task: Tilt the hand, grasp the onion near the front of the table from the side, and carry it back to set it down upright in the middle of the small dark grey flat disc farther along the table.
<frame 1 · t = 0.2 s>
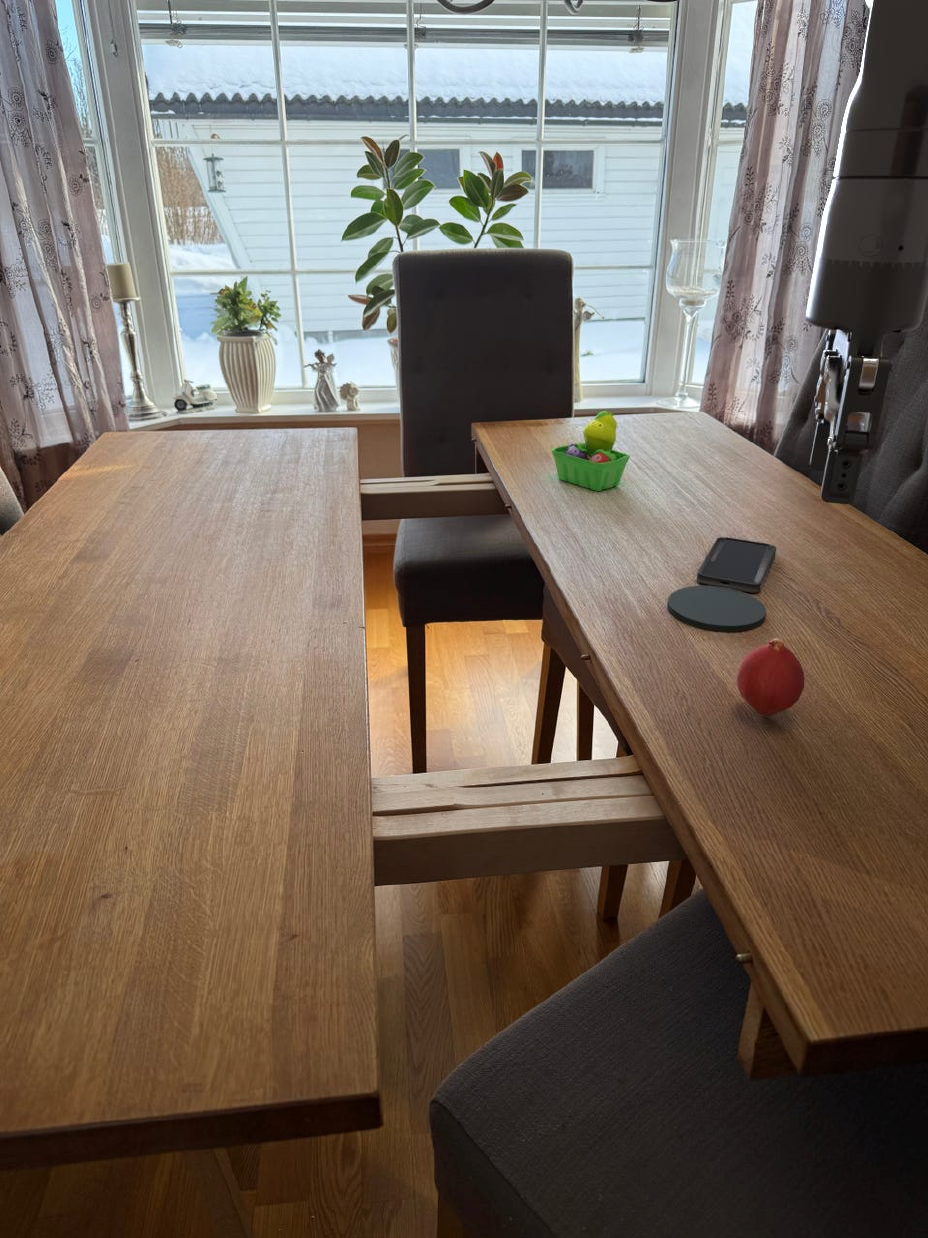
hand: (829, 484, 67), 24 cm above the table, tool pointing down, fingers open, 8 cm apart
dark grey flat disc: (715, 610, 102), on the table
phone: (736, 568, 114), on the table
fruit basket: (590, 482, 147), on the table
onion: (763, 716, 82), on the table
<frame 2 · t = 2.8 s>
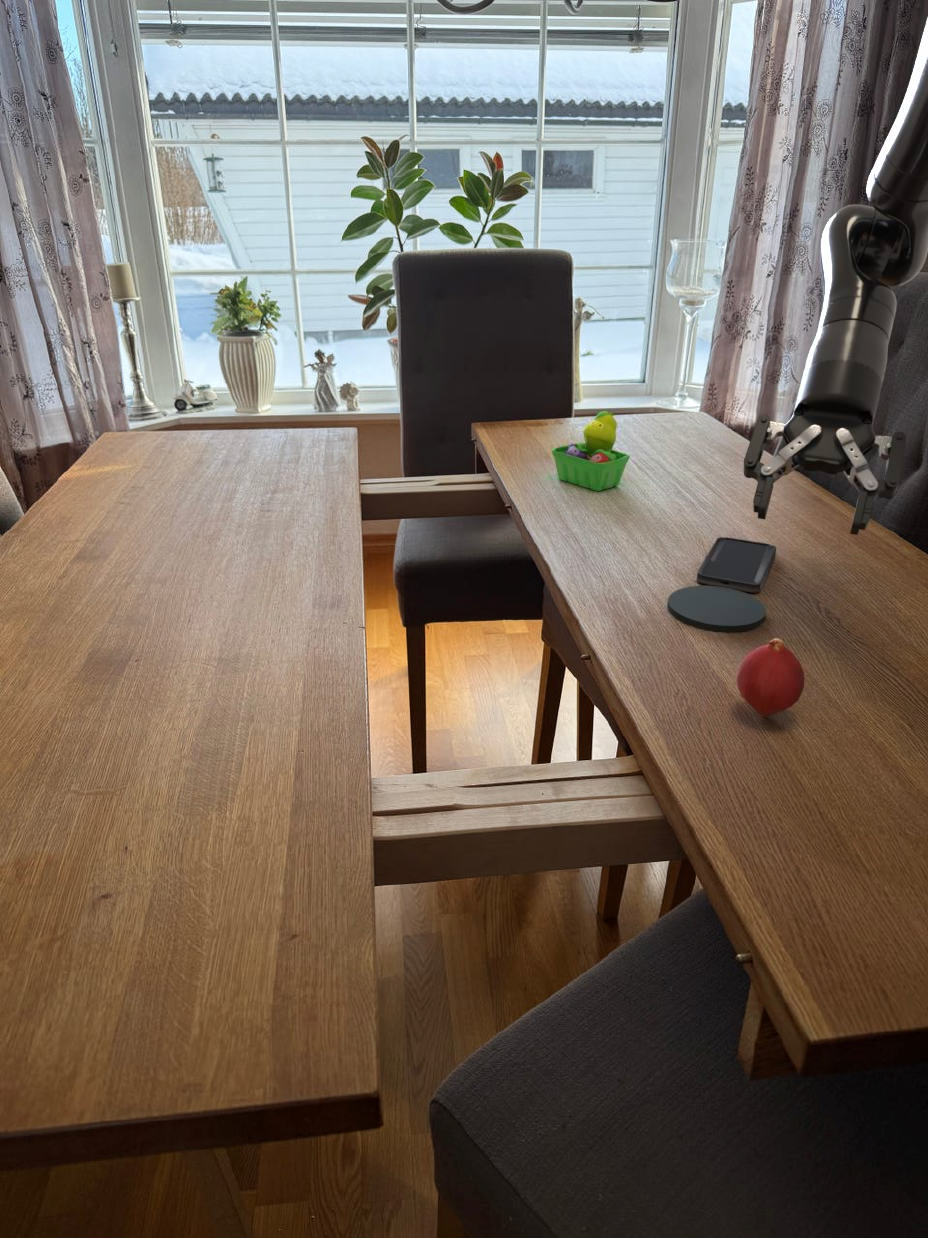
hand: (807, 523, 85), 15 cm above the table, tool tilted 45°, fingers open, 8 cm apart
nothing on the table moved.
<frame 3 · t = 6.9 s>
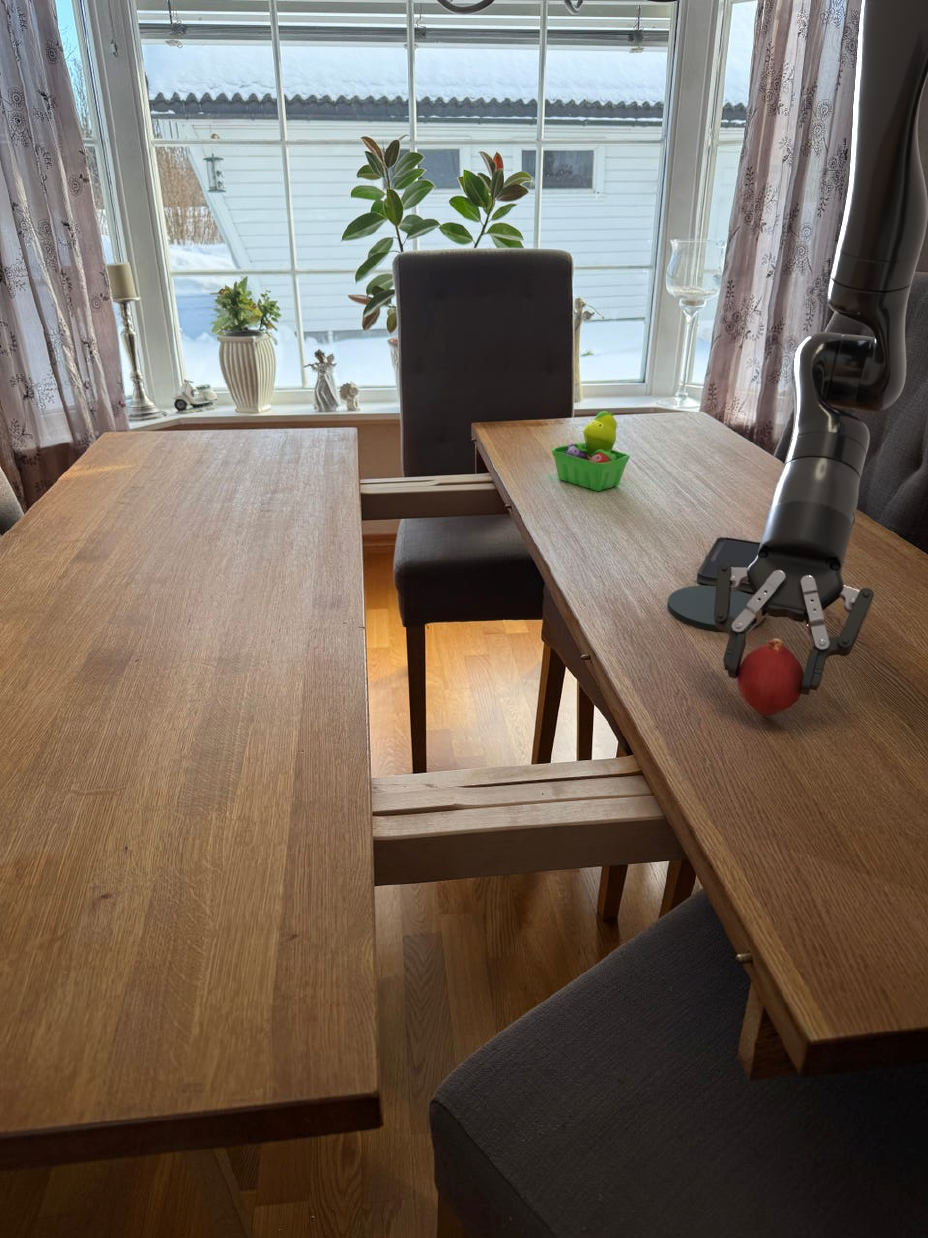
hand: (768, 683, 79), 4 cm above the table, tool tilted 45°, fingers closed on onion, 5 cm apart
onion: (763, 716, 82), on the table, touching gripper
everything else where it was.
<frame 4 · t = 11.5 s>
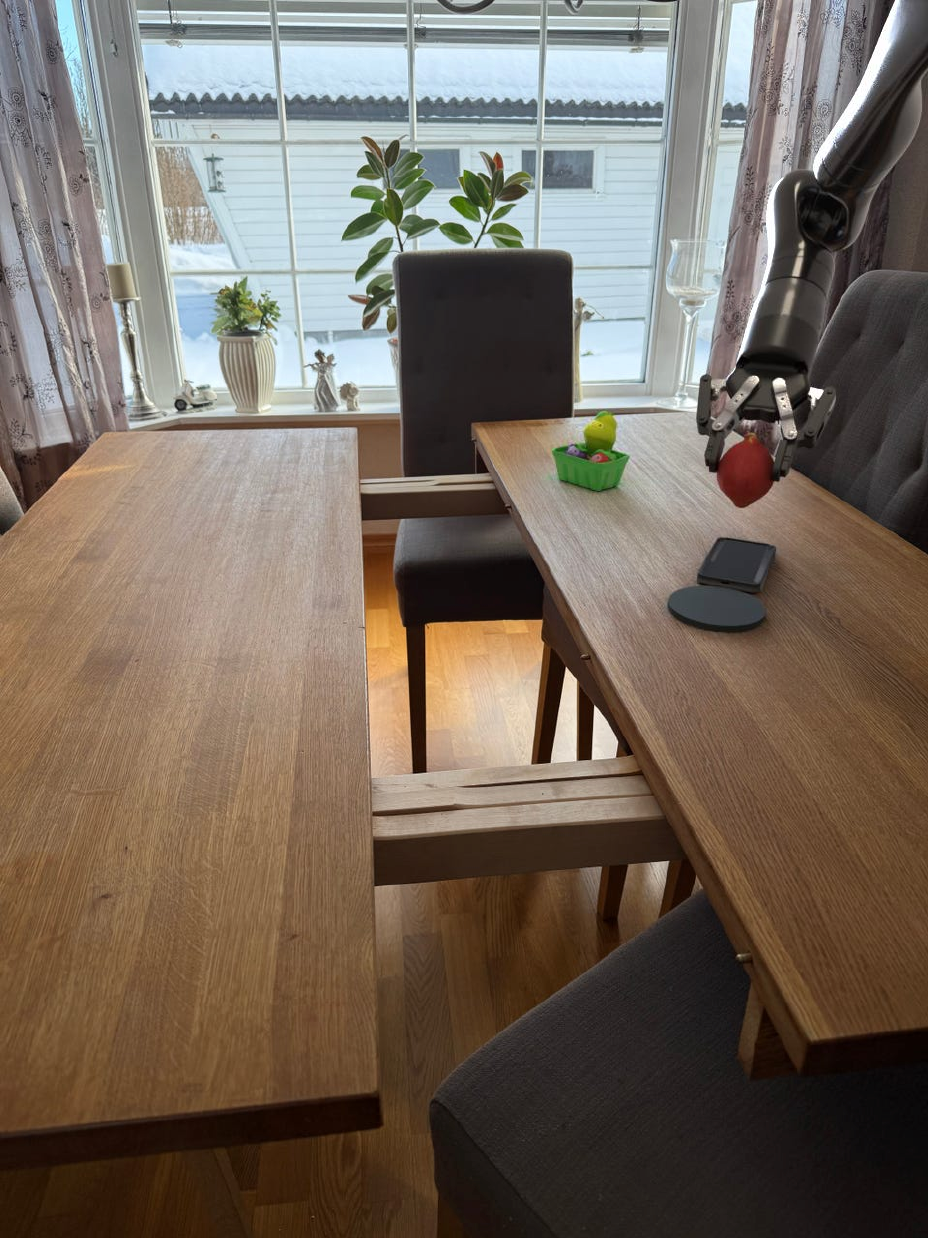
hand: (743, 472, 89), 18 cm above the table, tool tilted 45°, fingers closed on onion, 5 cm apart
onion: (740, 509, 93), point 14 cm above the table, touching gripper
everything else where it was.
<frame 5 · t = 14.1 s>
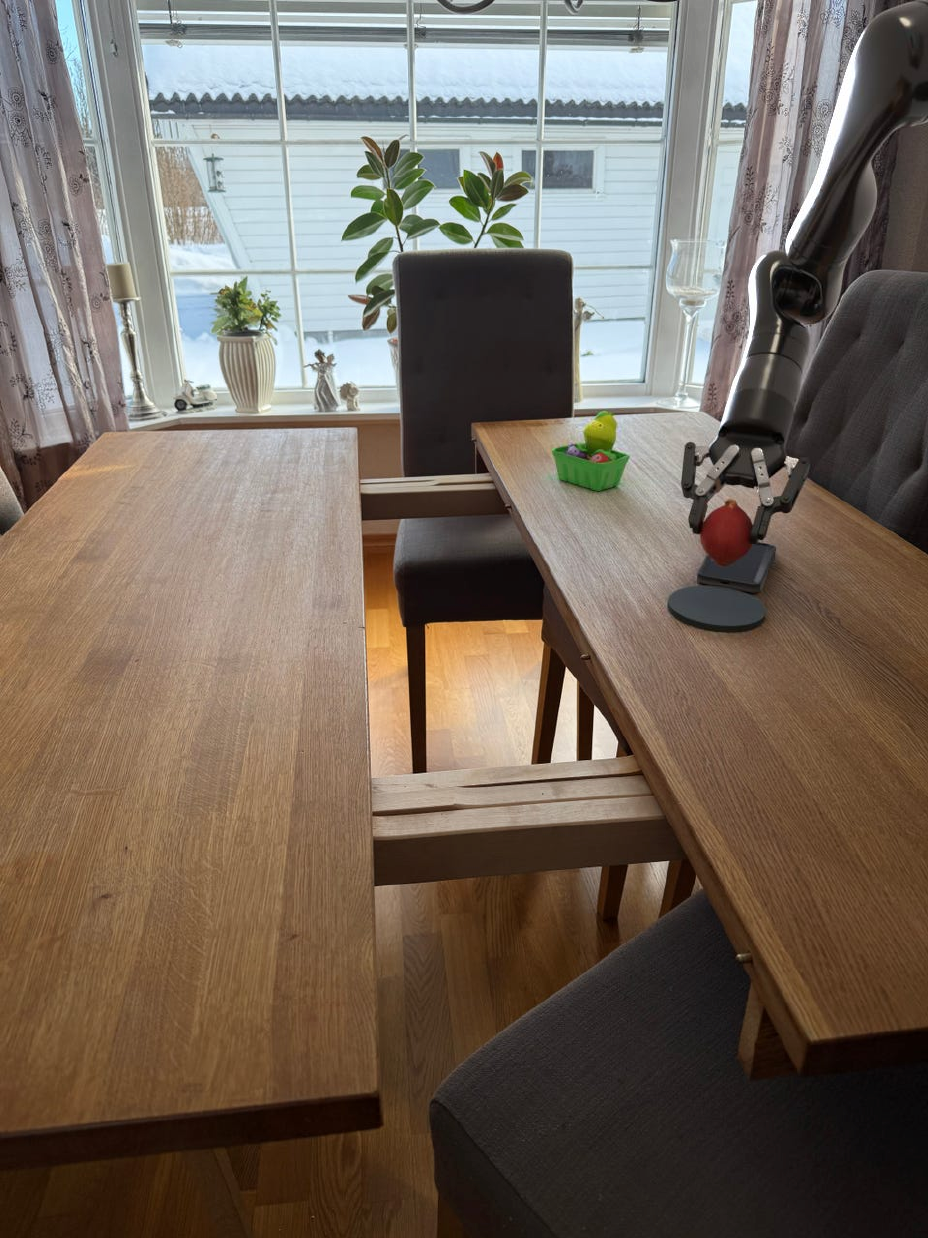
hand: (724, 535, 97), 10 cm above the table, tool tilted 45°, fingers closed on onion, 5 cm apart
onion: (722, 567, 100), point 5 cm above the table, touching gripper
everything else where it was.
when the fingers open (5 cm above the table, at t = 16.0 s): onion stays where it is, resting on dark grey flat disc.
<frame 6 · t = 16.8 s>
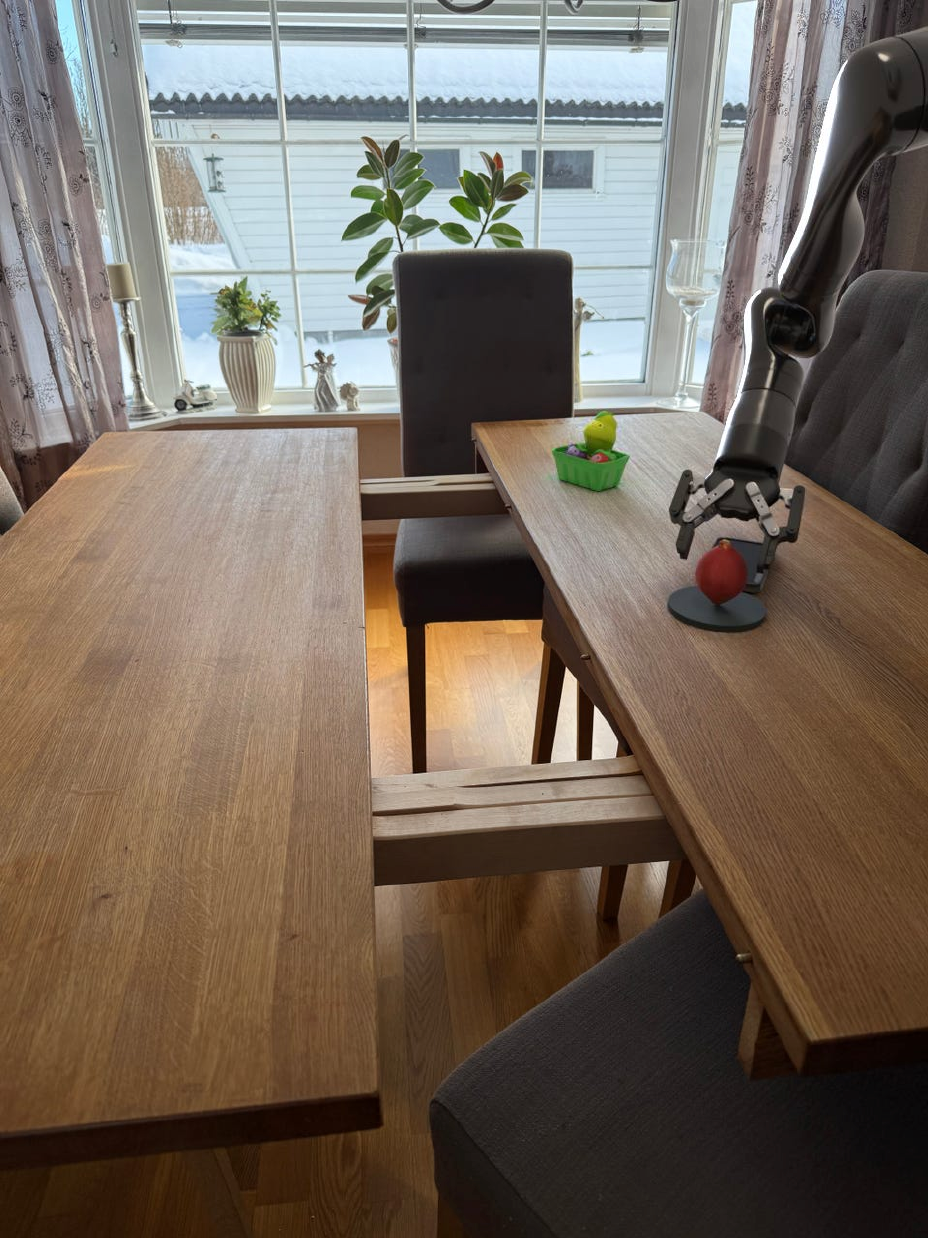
hand: (720, 563, 99), 6 cm above the table, tool tilted 45°, fingers open, 8 cm apart
onion: (716, 605, 102), point 1 cm above the table, touching dark grey flat disc
everything else where it was.
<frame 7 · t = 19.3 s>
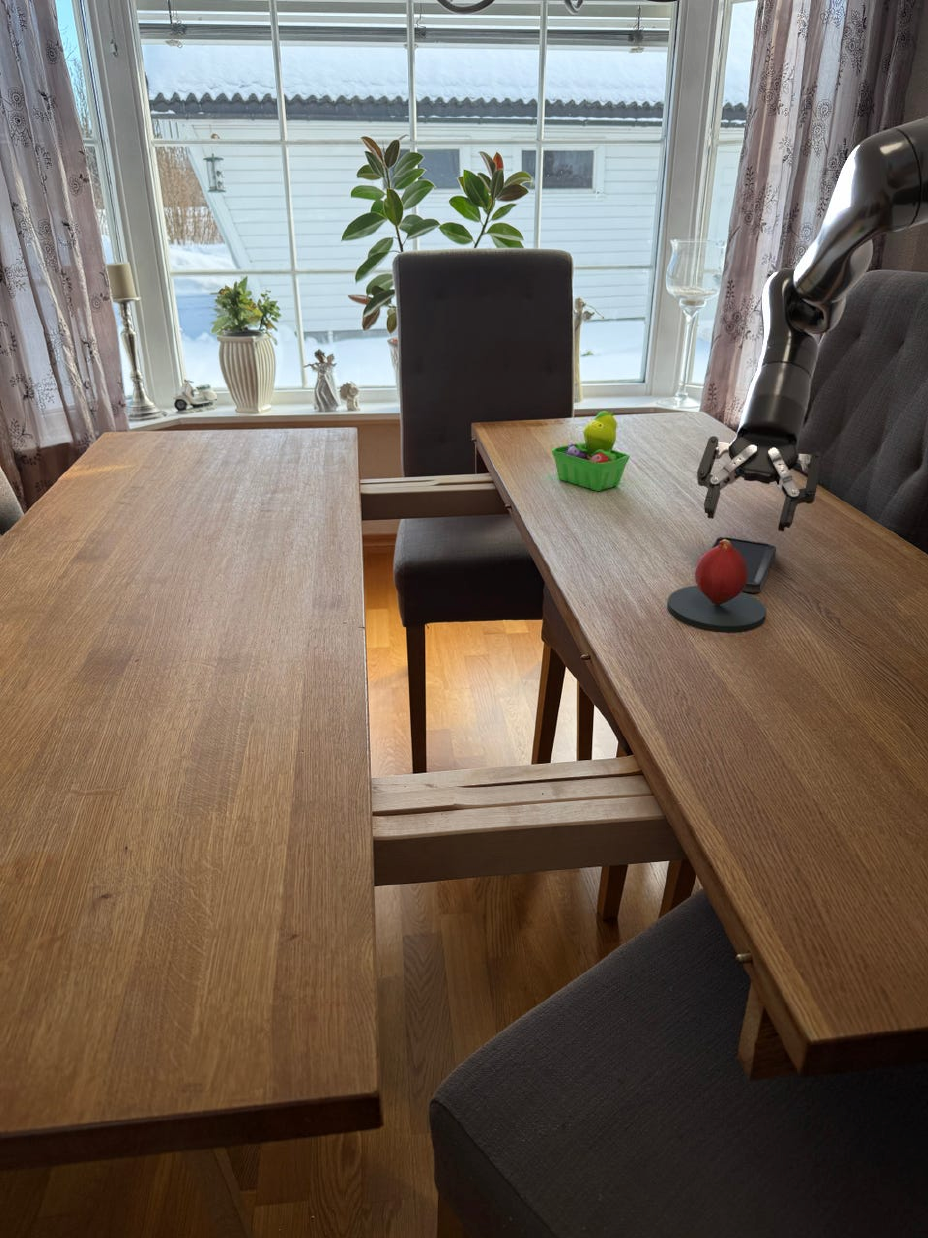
hand: (745, 522, 108), 7 cm above the table, tool tilted 45°, fingers open, 8 cm apart
nothing on the table moved.
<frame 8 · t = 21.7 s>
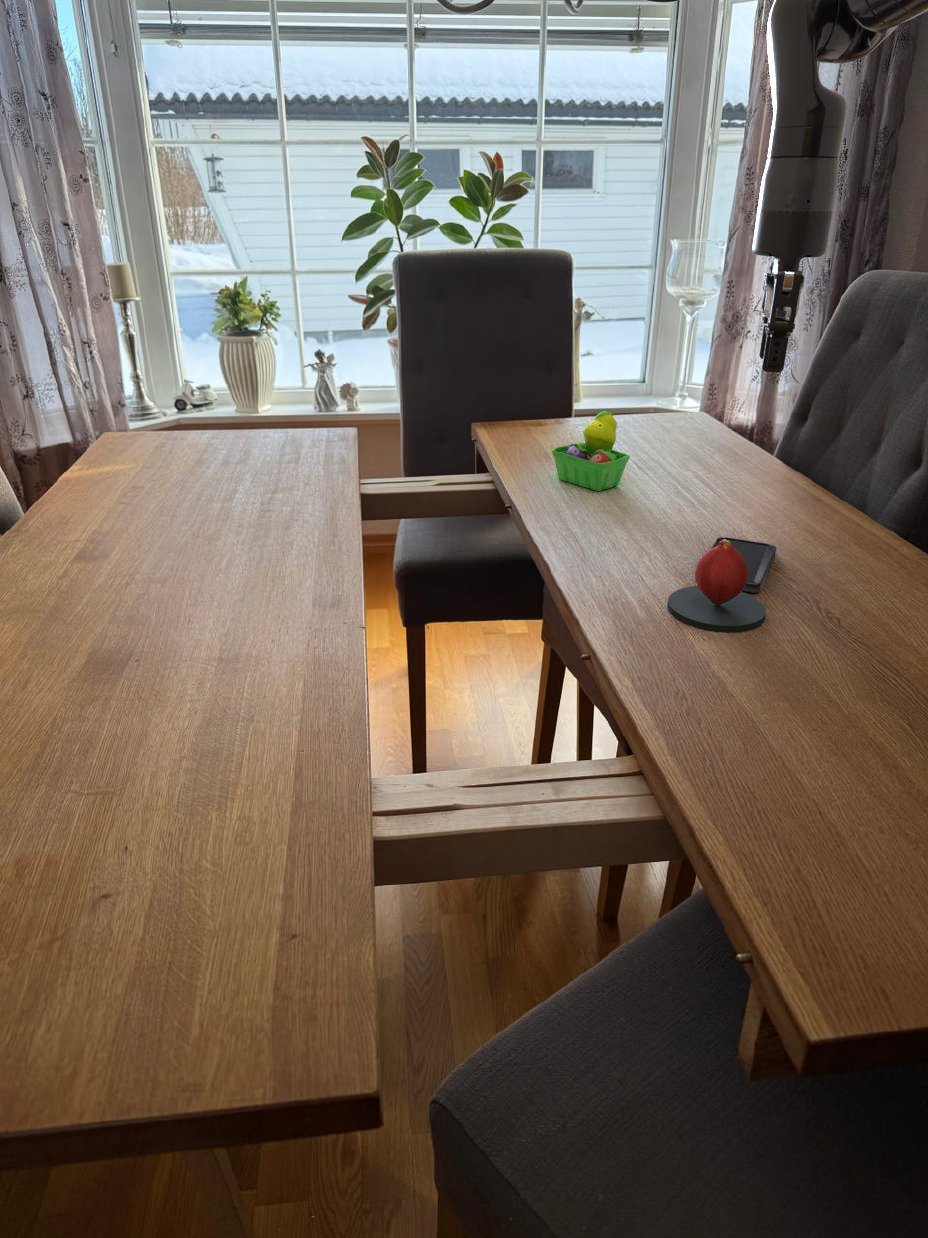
hand: (770, 364, 100), 26 cm above the table, tool pointing down, fingers open, 8 cm apart
nothing on the table moved.
at the end: onion inside the target area on the dark grey flat disc (0.2 cm from its centre), point 0.6 cm above the dark grey flat disc's base; onion tilted 0°; the gripper is holding nothing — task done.
